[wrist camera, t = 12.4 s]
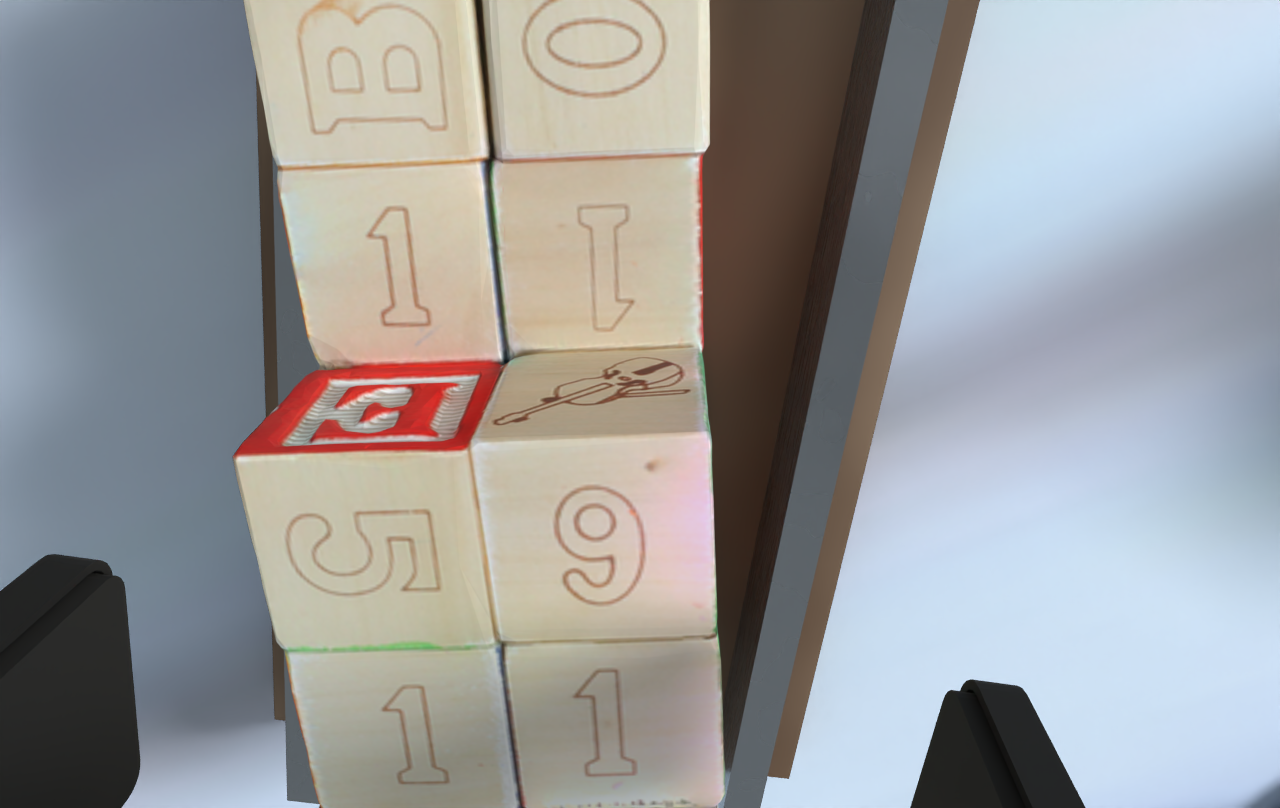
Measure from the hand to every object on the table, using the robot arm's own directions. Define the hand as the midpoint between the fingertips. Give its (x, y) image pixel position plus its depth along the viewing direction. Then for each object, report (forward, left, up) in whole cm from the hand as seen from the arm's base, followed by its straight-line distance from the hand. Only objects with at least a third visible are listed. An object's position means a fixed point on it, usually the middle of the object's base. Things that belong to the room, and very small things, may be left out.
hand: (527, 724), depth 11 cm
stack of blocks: (+1, -1, -14) cm, 15 cm away
